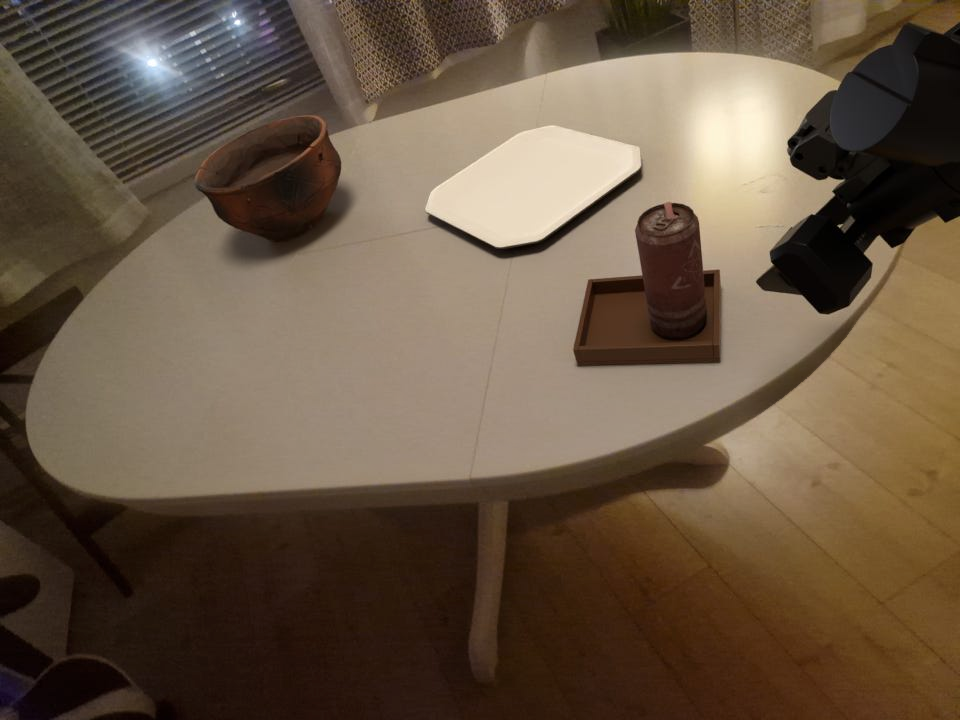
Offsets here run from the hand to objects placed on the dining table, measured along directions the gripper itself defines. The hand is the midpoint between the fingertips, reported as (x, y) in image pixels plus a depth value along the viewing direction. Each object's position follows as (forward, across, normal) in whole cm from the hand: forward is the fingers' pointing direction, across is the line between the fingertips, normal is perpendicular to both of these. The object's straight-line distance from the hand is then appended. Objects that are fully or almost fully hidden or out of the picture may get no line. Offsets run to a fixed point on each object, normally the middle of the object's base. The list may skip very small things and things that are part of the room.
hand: (787, 253), depth 56 cm
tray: (+20, +2, -1) cm, 20 cm away
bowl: (+73, +6, -53) cm, 90 cm away
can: (+18, 0, +1) cm, 18 cm away
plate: (+45, -16, -26) cm, 54 cm away
